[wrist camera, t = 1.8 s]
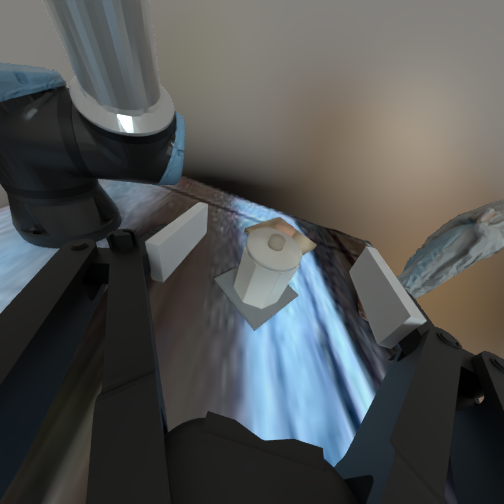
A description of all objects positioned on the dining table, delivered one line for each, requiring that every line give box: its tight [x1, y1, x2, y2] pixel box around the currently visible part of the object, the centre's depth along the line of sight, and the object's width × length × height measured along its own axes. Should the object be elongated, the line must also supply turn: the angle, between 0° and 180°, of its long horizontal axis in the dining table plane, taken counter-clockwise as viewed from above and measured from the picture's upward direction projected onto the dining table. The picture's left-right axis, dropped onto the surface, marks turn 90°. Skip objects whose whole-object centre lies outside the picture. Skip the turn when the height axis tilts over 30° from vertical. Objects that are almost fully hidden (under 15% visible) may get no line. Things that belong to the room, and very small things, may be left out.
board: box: [244, 217, 316, 255], centre depth 48 cm, size 14×14×1 cm
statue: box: [357, 200, 504, 321], centre depth 28 cm, size 8×7×30 cm
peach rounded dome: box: [275, 222, 295, 237], centre depth 47 cm, size 5×5×3 cm
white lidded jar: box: [234, 228, 302, 309], centre depth 31 cm, size 9×9×12 cm
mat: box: [214, 267, 298, 331], centre depth 35 cm, size 12×12×1 cm
